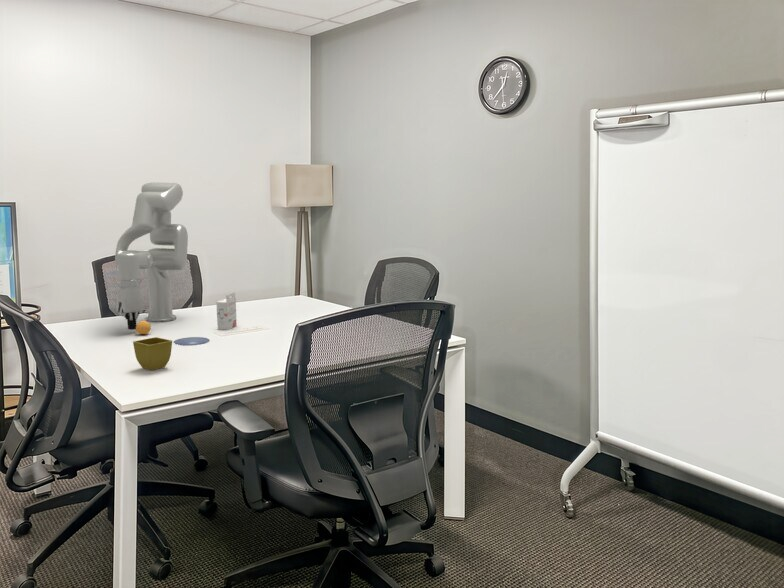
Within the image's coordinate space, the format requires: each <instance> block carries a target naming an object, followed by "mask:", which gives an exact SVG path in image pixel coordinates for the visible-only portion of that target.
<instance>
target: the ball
mask: <svg viewBox="0 0 784 588" xmlns="http://www.w3.org/2000/svg"><path fill="white" fill-rule="evenodd" d="M151 327H152V326H151V324H150V322H149V321H147V320H140V321H138V322H137V323H136V329H135V330H136V332H137V333H138V334H139V335H141V334H145V335H147V334H149V333H150V331H151V330H152V328H151Z"/></svg>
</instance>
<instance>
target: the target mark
mask: <svg viewBox="0 0 784 588" xmlns="http://www.w3.org/2000/svg"><path fill="white" fill-rule="evenodd" d="M209 342H210V339H209V338H207V337H202V336H201V337H200V336H189V337H181V338H178V339H175V340H173V344H174V343H175V344H174V345H177V344H178V345H179V346H197V345H204V344H206V343H209Z"/></svg>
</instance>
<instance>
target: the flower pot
mask: <svg viewBox="0 0 784 588" xmlns="http://www.w3.org/2000/svg"><path fill="white" fill-rule="evenodd" d="M132 345H133V349H134V354H135V358H136V360H137V362H138V364H139V365H140V367H141V368H142V369H145V370H147V371H148V370H149V371H156V370H159V369H164V368H165V367H166V366H167V365H168V364H169V361H170V360H171V359H170V358H171V355H172V349H173V348H172V347H173V340H171V339H167V338H162V337H158V336H157V337H149V338H144V339H139V340H134V341H132Z"/></svg>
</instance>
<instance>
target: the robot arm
mask: <svg viewBox="0 0 784 588" xmlns="http://www.w3.org/2000/svg"><path fill="white" fill-rule="evenodd" d="M182 187H183V186H181V185H180V184H179V183H177V182H147V183H144V184H143V185H142V186H141V189H140V190H141V192H140V193H139V194H137V197H136V199H135V204H134V205H135V206H134V210H133V217H132V224H131V226H130V227H129V228H127V230H125V231H124V232H123V233H122V234H121V236H120V237H119V239H118V241H117V244H116V248H115V253H114V255H115V256H114V261H115V265H116V266H117V267H118V277H119V287H118V288H117V292H116V305H115V306H116V312H117V313H118V316H119V317H124V319H125V320H127V321H126V322H127V325H126V326H127V330H131V331H133V330H136V325H137V320H138V317H139V316H140V315H141V314H142V313H143V312H144V313H145V314H146V315H147V316H146V320H145V321H147V320H148V321H147V322H152V321H157V323H159V322H161V321H163V322H171V321H175V320H176V319H177V315H175V314H173V293H172V279H171V276H170V275H169V273H168V272H167V271H183V270H185V268H186V266H187V263H188V261H187V260H188V246H189V245H188V243H189V242H188V241H189V239H188V238H189V236H188V234H189V233H188V230H187V228H186V227H185V226H184V225H183V224H179V223H172V211H173V210H174V208H176V206H177V205H178V204H179V203H180V202H181V201H182V200H183V199H182V198H183V195H184V194H183V193H184V191H183V188H182ZM148 234H149V239H150V242H151V244H153V245H154V246H155V245H156V246H162V247H161V248H159V247H155V248H150V249H148V250H135V249H134V250H133V249H130V250H128V248H129V247H130V245H131V244H132V243H133V242H134V241H136V240H137V239H139V238H141V237H143V236H145V235H146V236H147V235H148ZM165 246H168V247H172V246H173V247H174V248H163V247H165ZM140 270H146V273H147V283H148V284H147V285H148V301H149V303H148V304H149V305H148V306H149V308H147V309H146V310H145V311H144V308H145V298H144V293H143V288H142V286H141V283H142V279H141V275H140ZM174 319H175V320H174Z"/></svg>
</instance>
